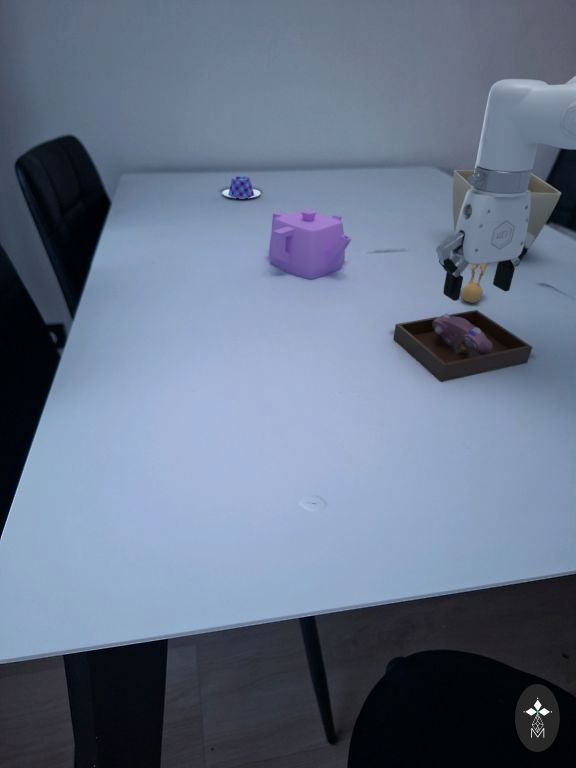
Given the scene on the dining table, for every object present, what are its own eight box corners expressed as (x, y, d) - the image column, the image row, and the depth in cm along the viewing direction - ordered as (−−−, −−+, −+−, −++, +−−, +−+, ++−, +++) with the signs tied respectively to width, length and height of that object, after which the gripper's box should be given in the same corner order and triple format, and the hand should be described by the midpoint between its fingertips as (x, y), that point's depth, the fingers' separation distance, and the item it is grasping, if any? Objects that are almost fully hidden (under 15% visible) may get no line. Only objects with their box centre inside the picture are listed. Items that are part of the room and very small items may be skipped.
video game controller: (431, 344, 94) (425, 317, 89) (447, 328, 95) (443, 300, 90) (478, 369, 88) (475, 341, 83) (496, 351, 89) (494, 323, 84)
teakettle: (269, 251, 127) (269, 198, 120) (340, 252, 128) (344, 200, 121) (268, 280, 113) (269, 222, 106) (348, 281, 114) (353, 224, 107)
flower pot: (540, 266, 124) (563, 192, 114) (459, 264, 123) (476, 190, 114) (511, 239, 140) (530, 171, 130) (439, 237, 139) (452, 169, 130)
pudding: (220, 190, 171) (220, 173, 168) (257, 190, 173) (257, 173, 170) (223, 201, 161) (223, 183, 158) (263, 200, 163) (263, 182, 160)
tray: (473, 324, 99) (476, 309, 97) (527, 362, 88) (532, 346, 86) (393, 339, 93) (395, 323, 92) (440, 381, 83) (444, 365, 81)
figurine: (446, 300, 107) (459, 242, 100) (453, 290, 111) (466, 233, 105) (489, 310, 104) (504, 251, 97) (494, 299, 108) (510, 241, 102)
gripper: (466, 192, 69) (444, 311, 79) (568, 181, 75) (535, 293, 84) (433, 179, 75) (416, 291, 85) (529, 170, 81) (503, 276, 90)
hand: (476, 292), depth 84 cm, fingers open, 9 cm apart
